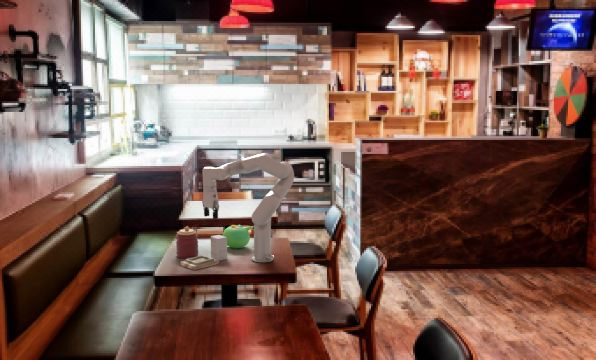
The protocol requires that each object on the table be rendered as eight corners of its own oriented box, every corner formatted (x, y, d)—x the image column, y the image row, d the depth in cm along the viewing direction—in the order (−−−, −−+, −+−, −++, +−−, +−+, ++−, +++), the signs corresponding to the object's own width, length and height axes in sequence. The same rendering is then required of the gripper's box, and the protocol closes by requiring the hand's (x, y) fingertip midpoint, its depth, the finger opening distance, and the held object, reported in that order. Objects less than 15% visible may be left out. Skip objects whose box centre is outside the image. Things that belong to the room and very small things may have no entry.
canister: (174, 258, 374) (173, 229, 371) (178, 252, 387) (177, 224, 384) (197, 258, 374) (196, 229, 371) (199, 252, 387) (199, 224, 384)
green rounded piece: (217, 247, 400) (217, 224, 397) (239, 242, 411) (238, 220, 409) (234, 252, 387) (234, 229, 384) (256, 248, 398) (256, 224, 396)
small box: (227, 258, 374) (227, 237, 372) (218, 260, 370) (217, 238, 368) (219, 255, 380) (219, 234, 378) (210, 257, 376) (210, 236, 374)
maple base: (218, 263, 364) (218, 258, 364) (194, 270, 352) (194, 264, 352) (204, 259, 373) (204, 253, 373) (180, 265, 361) (180, 259, 361)
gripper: (223, 189, 364) (224, 218, 367) (207, 185, 378) (209, 214, 380) (211, 190, 360) (213, 220, 362) (196, 187, 373) (198, 216, 376)
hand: (211, 217), depth 371 cm, fingers open, 9 cm apart
